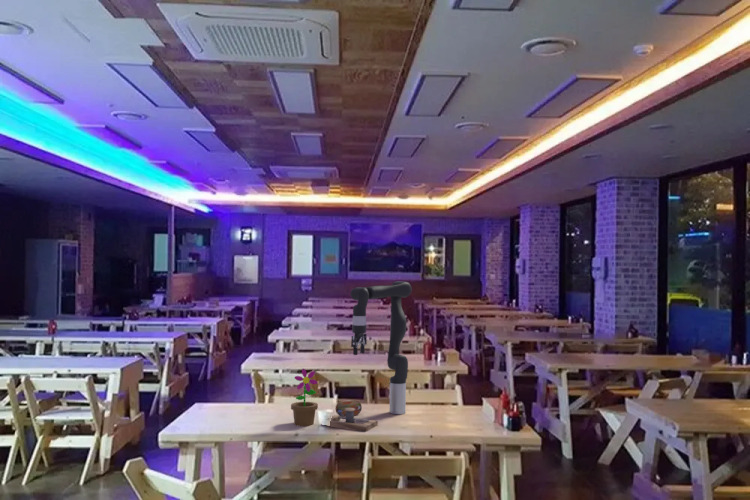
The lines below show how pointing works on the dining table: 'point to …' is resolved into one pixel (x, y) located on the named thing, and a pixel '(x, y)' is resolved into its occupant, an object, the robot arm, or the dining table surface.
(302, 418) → the flowerpot
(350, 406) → the tin
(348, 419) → the spool
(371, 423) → the framed panel with rod
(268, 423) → the dining table surface
